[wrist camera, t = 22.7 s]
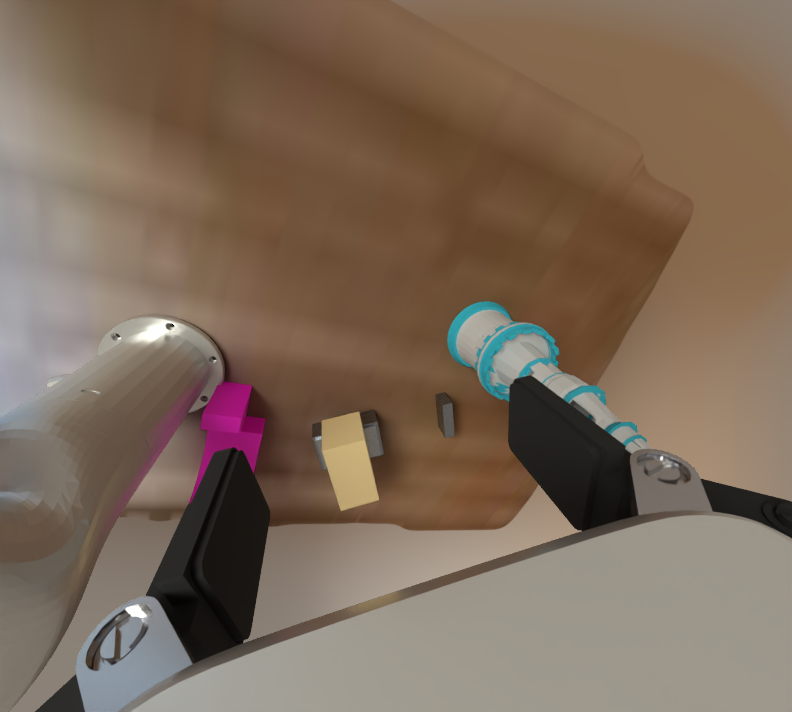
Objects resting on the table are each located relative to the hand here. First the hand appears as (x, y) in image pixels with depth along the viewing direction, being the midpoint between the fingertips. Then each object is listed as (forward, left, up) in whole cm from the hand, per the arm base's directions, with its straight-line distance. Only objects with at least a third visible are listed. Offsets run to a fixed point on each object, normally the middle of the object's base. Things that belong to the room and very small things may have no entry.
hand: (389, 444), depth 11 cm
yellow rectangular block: (-4, -22, -27) cm, 35 cm away
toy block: (-18, -17, -30) cm, 39 cm away
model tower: (+18, -11, -31) cm, 37 cm away
